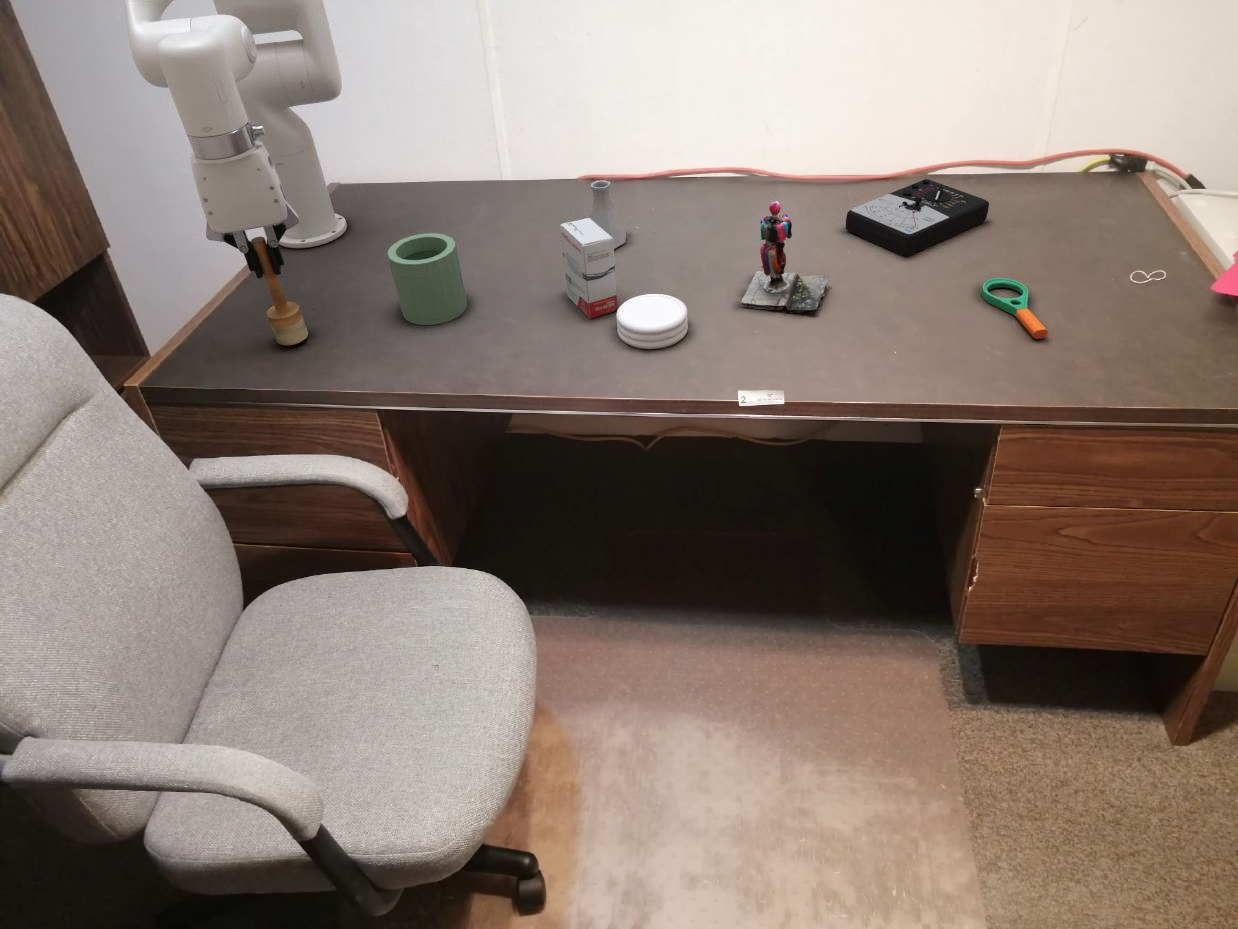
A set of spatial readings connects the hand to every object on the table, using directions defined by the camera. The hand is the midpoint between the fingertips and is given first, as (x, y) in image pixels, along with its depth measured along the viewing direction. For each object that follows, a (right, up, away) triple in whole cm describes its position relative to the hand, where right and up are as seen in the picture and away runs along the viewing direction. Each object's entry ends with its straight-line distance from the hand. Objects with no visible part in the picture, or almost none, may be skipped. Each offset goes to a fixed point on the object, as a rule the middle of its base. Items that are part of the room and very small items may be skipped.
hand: (269, 271), depth 124 cm
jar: (+21, -3, +12) cm, 24 cm away
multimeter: (+97, +12, +22) cm, 100 cm away
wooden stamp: (+1, -8, +7) cm, 11 cm away
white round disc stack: (+54, -8, +3) cm, 54 cm away
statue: (+73, -2, +8) cm, 74 cm away
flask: (+46, +10, +26) cm, 54 cm away
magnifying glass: (+104, -6, 0) cm, 104 cm away
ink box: (+45, -3, +10) cm, 46 cm away
